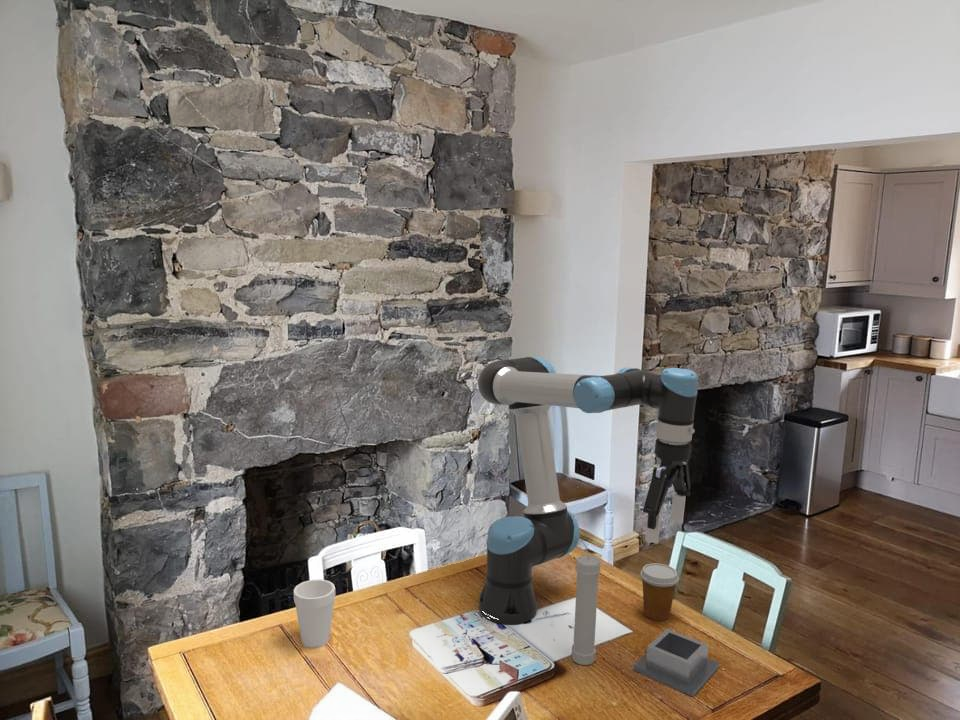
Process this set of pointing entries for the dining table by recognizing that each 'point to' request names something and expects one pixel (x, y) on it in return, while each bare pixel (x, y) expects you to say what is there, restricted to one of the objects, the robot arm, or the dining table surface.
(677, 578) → the disposable coffee cup
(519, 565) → the robot arm
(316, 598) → the foam cup
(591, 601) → the pipe
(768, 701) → the dining table surface
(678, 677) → the pipe socket
